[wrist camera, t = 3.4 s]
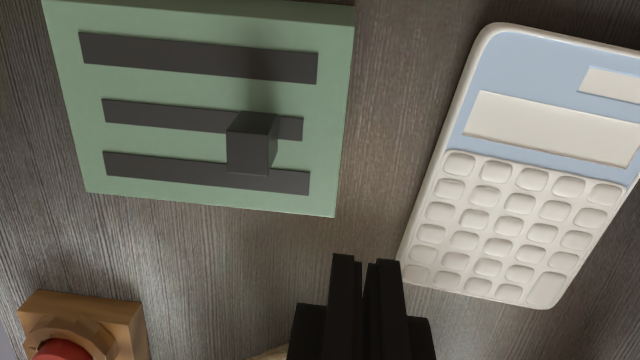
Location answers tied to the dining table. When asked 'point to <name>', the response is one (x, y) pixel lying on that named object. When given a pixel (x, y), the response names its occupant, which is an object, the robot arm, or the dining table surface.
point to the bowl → (273, 354)
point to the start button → (62, 351)
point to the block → (85, 324)
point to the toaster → (204, 96)
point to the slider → (252, 143)
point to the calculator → (526, 167)
